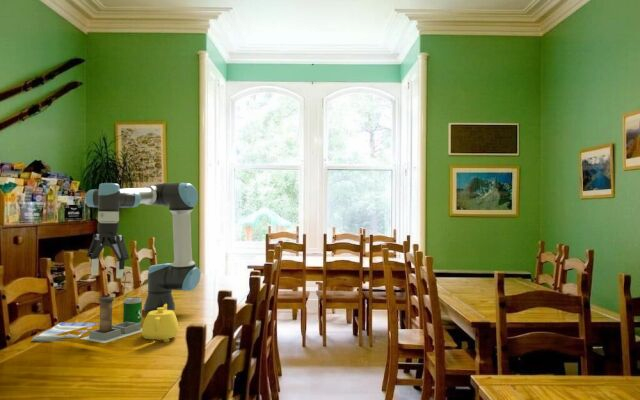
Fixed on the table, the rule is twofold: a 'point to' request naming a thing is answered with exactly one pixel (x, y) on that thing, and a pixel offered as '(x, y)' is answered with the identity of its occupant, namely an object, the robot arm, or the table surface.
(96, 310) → the table surface
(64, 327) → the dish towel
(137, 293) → the table surface
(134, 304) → the soda can
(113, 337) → the board
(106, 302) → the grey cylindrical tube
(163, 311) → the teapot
